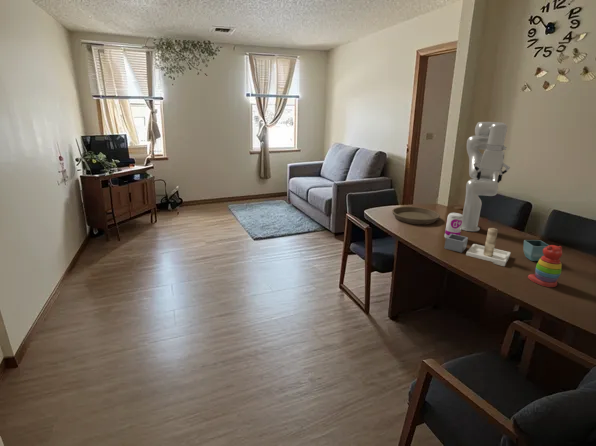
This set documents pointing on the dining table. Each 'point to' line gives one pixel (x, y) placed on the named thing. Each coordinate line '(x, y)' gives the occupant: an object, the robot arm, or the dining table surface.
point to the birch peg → (490, 242)
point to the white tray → (497, 258)
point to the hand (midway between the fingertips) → (488, 180)
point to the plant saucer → (415, 215)
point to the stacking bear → (548, 267)
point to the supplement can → (453, 224)
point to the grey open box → (456, 242)
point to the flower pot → (534, 249)
